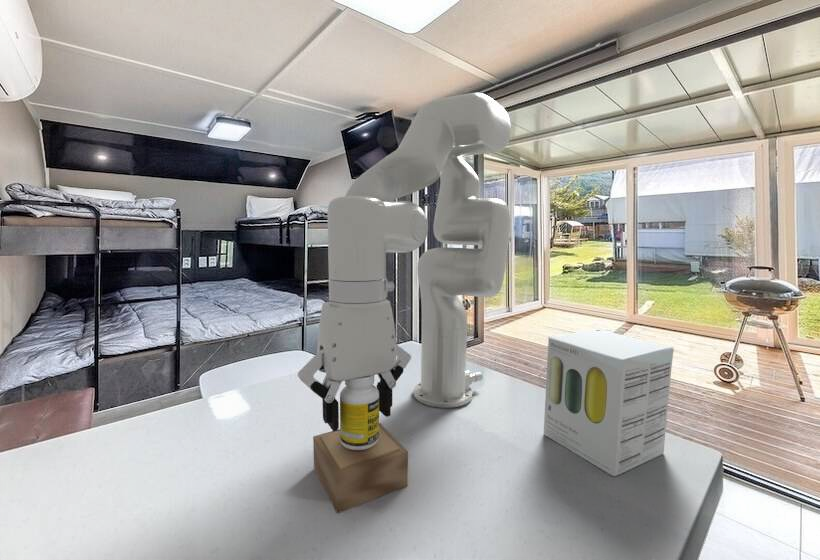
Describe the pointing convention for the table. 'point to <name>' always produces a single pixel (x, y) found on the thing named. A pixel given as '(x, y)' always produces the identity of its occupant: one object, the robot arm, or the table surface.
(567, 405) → the supplement box
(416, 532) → the table surface
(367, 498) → the brown square tray
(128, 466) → the table surface
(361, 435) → the supplement bottle
